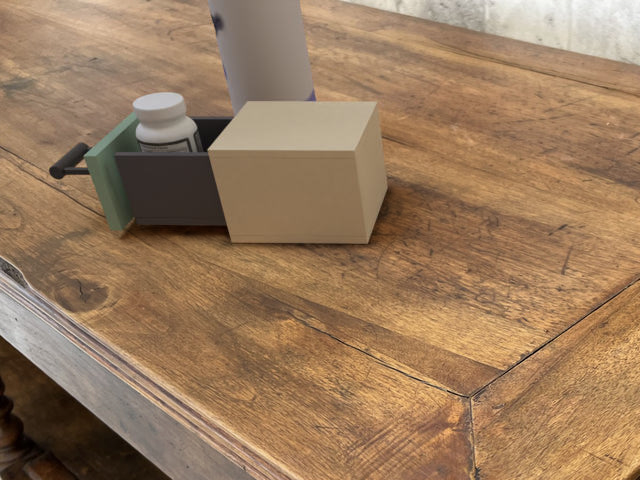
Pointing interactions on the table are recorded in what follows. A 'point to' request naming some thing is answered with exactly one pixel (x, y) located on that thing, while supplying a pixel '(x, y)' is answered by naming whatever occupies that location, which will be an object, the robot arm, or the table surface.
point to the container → (263, 50)
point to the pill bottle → (165, 124)
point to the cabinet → (301, 172)
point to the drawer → (150, 177)
